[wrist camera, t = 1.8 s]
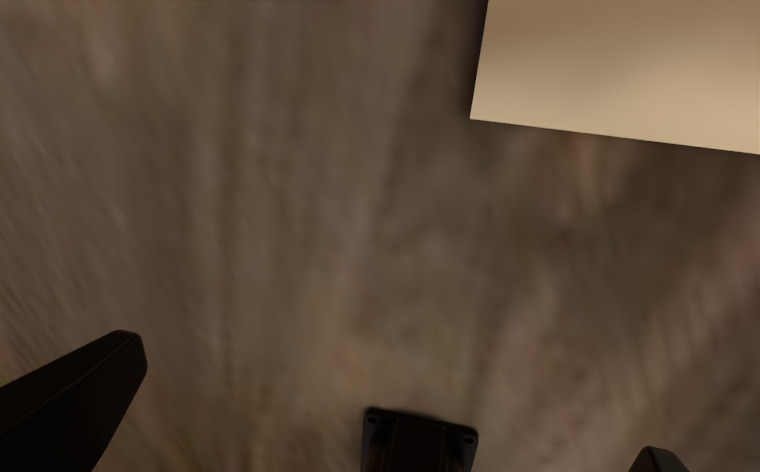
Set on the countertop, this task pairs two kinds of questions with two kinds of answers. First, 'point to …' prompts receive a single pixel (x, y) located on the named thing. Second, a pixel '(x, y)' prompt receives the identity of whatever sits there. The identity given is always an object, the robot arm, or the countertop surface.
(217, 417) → the countertop surface
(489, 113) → the birch board
